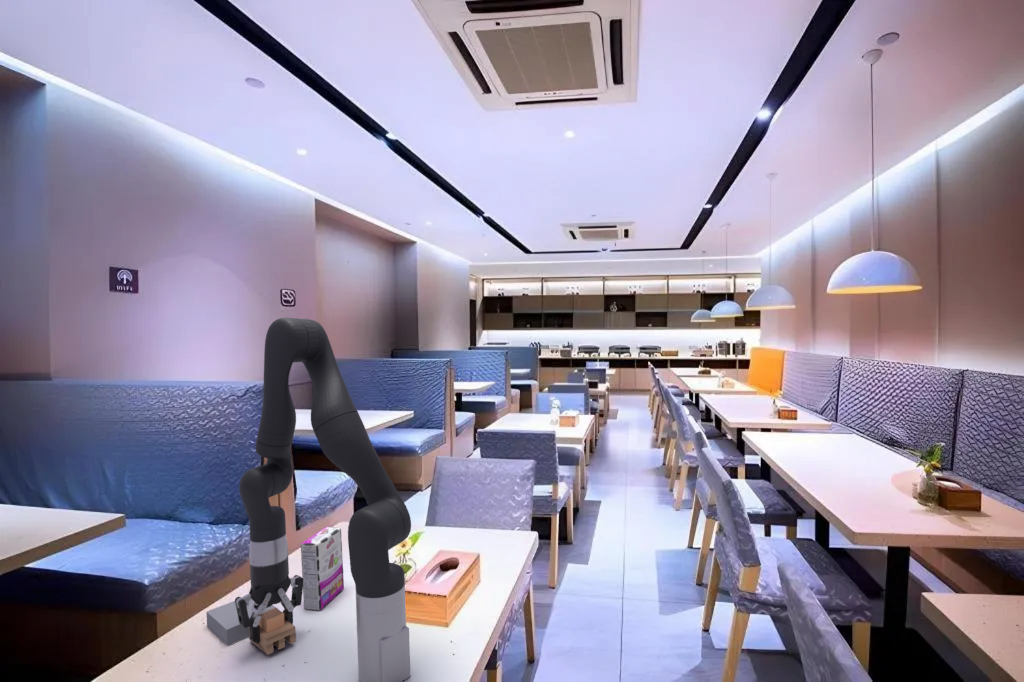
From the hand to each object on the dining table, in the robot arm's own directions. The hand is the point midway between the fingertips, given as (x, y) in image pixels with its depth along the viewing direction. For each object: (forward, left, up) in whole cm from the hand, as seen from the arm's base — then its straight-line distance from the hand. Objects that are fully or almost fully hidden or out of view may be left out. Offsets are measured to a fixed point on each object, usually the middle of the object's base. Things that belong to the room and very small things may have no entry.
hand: (272, 634), depth 112 cm
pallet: (0, 0, -1) cm, 1 cm away
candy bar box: (+9, -17, -2) cm, 19 cm away
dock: (+13, +1, -2) cm, 13 cm away
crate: (0, 0, +2) cm, 2 cm away
